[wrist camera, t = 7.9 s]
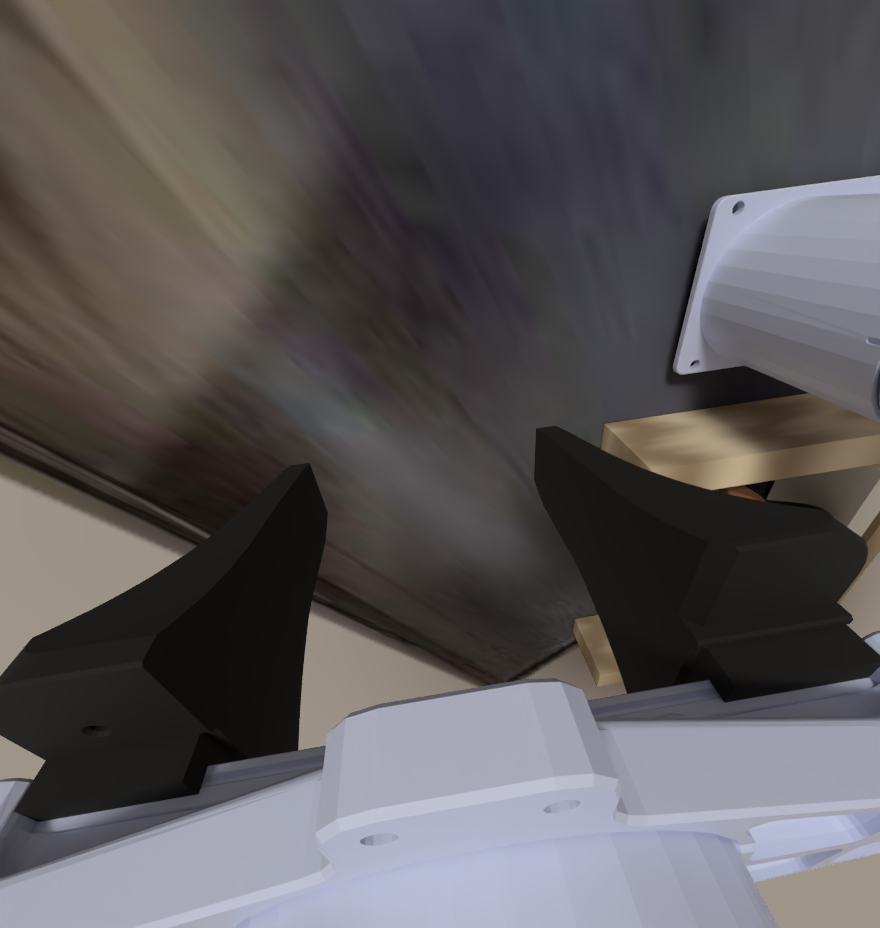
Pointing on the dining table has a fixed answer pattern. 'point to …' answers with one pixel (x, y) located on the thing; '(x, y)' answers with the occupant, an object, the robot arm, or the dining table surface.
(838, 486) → the pusher plate
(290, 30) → the dining table surface
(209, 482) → the dining table surface
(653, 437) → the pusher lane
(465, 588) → the dining table surface
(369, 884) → the robot arm
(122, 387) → the dining table surface
